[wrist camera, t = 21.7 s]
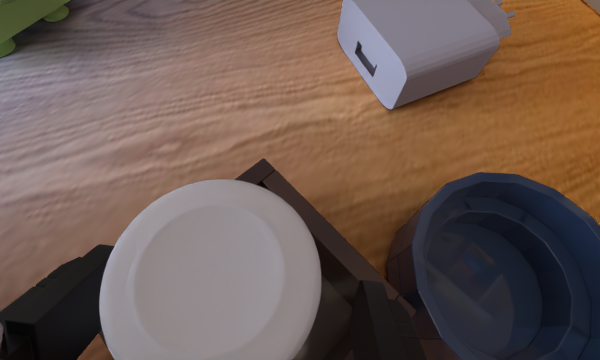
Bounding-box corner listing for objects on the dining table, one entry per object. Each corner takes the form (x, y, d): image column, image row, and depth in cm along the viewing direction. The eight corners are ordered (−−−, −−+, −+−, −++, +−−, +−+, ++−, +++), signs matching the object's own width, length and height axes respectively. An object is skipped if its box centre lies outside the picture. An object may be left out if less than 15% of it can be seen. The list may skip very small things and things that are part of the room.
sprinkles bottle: (313, 311, 19) (369, 263, 7) (258, 382, 17) (202, 485, 5) (256, 259, 20) (216, 137, 8) (199, 320, 18) (39, 284, 6)
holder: (131, 309, 19) (75, 297, 14) (267, 199, 23) (263, 157, 17) (244, 476, 16) (227, 541, 11) (381, 318, 20) (417, 311, 14)
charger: (524, 63, 30) (388, 114, 26) (462, 2, 34) (335, 40, 30) (564, 17, 26) (409, 71, 22) (488, -47, 29) (344, -9, 26)
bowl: (348, 281, 20) (368, 264, 16) (450, 176, 24) (488, 139, 20) (502, 442, 17) (579, 477, 13) (591, 291, 21) (675, 278, 17)
